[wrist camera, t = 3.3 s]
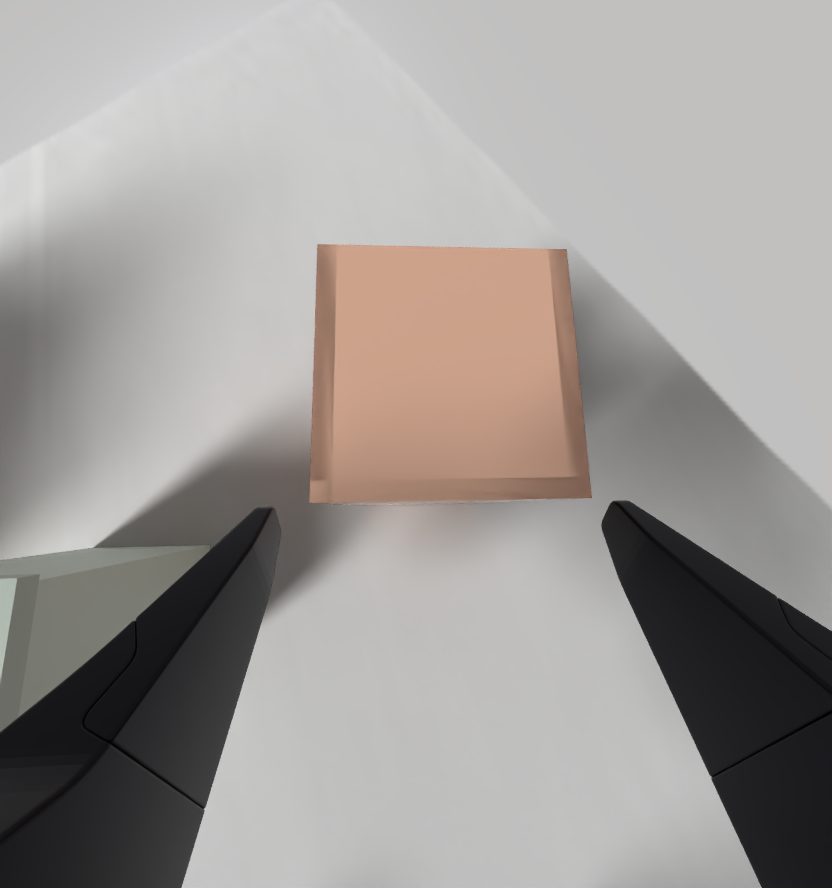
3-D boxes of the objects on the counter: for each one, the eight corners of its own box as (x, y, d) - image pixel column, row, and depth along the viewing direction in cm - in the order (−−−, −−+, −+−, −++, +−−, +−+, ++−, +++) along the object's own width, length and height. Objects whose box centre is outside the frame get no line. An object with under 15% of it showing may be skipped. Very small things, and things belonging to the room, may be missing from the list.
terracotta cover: (478, 503, 20) (591, 497, 9) (361, 505, 20) (309, 503, 8) (473, 391, 21) (566, 249, 10) (361, 391, 21) (317, 244, 9)
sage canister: (204, 671, 18) (-31, 873, 8) (71, 677, 18) (-346, 896, 8) (214, 541, 19) (17, 578, 9) (89, 543, 19) (-258, 585, 9)
